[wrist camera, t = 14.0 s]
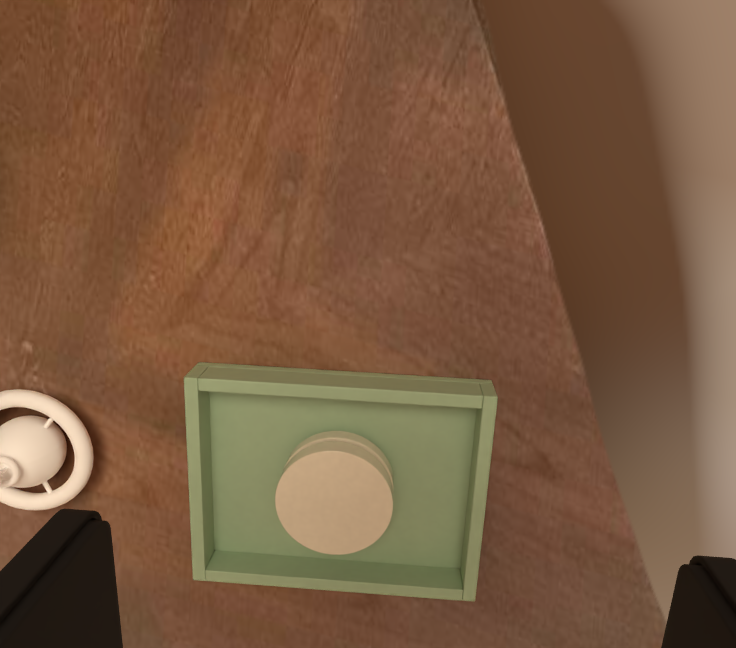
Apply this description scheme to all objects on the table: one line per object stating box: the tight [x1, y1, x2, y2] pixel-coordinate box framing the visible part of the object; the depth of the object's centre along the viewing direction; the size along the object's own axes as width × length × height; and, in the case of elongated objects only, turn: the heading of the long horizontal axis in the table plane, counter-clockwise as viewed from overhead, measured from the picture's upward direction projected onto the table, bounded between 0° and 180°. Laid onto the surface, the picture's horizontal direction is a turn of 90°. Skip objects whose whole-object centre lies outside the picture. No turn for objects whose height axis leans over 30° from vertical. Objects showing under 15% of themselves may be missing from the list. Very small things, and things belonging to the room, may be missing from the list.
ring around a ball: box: [0, 389, 94, 510], centre depth 36 cm, size 8×6×8 cm
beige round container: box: [275, 431, 394, 555], centre depth 36 cm, size 7×7×3 cm
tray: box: [184, 362, 498, 601], centre depth 37 cm, size 18×14×3 cm
